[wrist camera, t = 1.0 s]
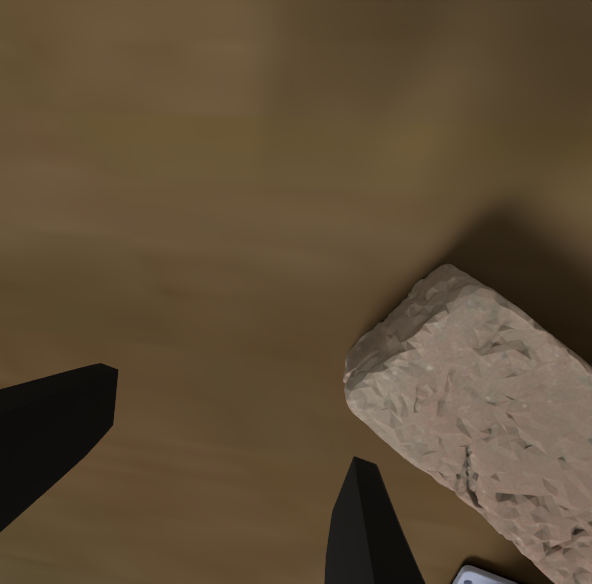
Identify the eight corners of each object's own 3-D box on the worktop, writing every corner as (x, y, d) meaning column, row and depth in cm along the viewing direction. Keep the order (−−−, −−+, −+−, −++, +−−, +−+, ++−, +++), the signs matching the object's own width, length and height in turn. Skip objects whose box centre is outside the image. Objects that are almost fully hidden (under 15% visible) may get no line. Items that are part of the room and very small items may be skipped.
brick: (337, 362, 18) (330, 411, 14) (442, 252, 16) (476, 267, 11) (553, 536, 18) (617, 641, 14) (694, 455, 16) (830, 553, 11)
